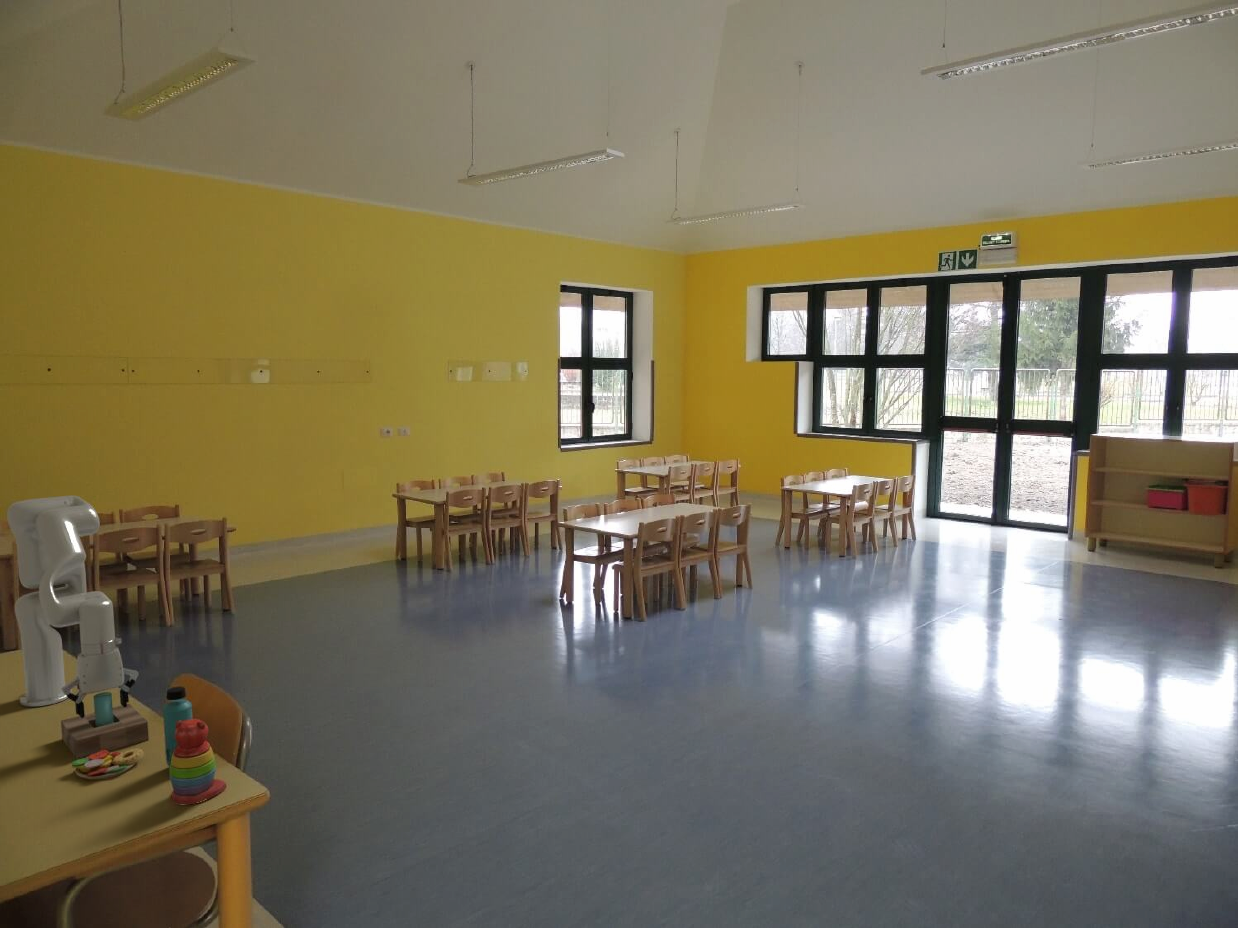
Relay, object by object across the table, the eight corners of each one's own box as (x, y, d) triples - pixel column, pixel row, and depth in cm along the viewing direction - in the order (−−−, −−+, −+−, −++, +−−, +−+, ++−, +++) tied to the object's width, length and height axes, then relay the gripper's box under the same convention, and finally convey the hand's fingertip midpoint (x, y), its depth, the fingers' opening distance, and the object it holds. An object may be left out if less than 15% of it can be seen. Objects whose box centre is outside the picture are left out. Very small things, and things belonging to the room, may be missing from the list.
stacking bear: (230, 785, 202) (226, 711, 200) (205, 807, 192) (200, 730, 190) (186, 782, 203) (181, 709, 201) (159, 804, 193) (154, 728, 191)
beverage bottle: (202, 764, 212) (197, 685, 209) (178, 776, 206) (173, 695, 203) (183, 759, 214) (179, 681, 212) (159, 770, 208) (154, 690, 206)
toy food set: (151, 760, 214) (150, 748, 214) (106, 786, 202) (105, 772, 201) (107, 754, 218) (106, 741, 217) (61, 778, 205) (59, 765, 205)
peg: (95, 739, 225) (91, 694, 224) (112, 734, 228) (109, 690, 227) (99, 744, 223) (95, 699, 221) (116, 739, 225) (113, 695, 224)
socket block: (62, 738, 226) (60, 720, 225) (130, 721, 237) (129, 703, 236) (77, 759, 214) (76, 740, 213) (148, 739, 225) (147, 721, 225)
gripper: (131, 635, 231) (135, 697, 233) (55, 650, 219) (60, 715, 221) (140, 642, 226) (144, 705, 228) (62, 658, 214) (67, 725, 216)
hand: (103, 710), depth 225 cm, fingers open, 9 cm apart
